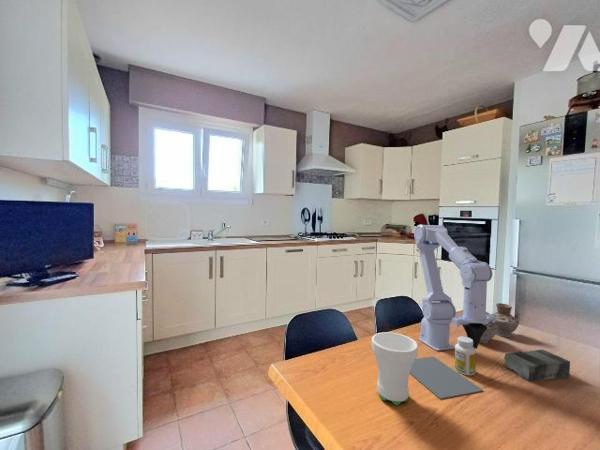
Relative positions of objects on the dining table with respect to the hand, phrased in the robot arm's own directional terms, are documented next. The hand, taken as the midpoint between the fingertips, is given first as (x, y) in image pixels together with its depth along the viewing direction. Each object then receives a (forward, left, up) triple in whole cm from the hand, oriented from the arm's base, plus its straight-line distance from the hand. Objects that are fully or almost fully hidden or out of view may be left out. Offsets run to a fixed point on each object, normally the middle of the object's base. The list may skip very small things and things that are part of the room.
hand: (473, 347), depth 83 cm
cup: (+5, -31, -7) cm, 32 cm away
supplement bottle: (0, -2, -7) cm, 8 cm away
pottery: (-17, +28, -7) cm, 34 cm away
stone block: (+5, +18, -8) cm, 20 cm away
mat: (0, -13, -7) cm, 15 cm away
